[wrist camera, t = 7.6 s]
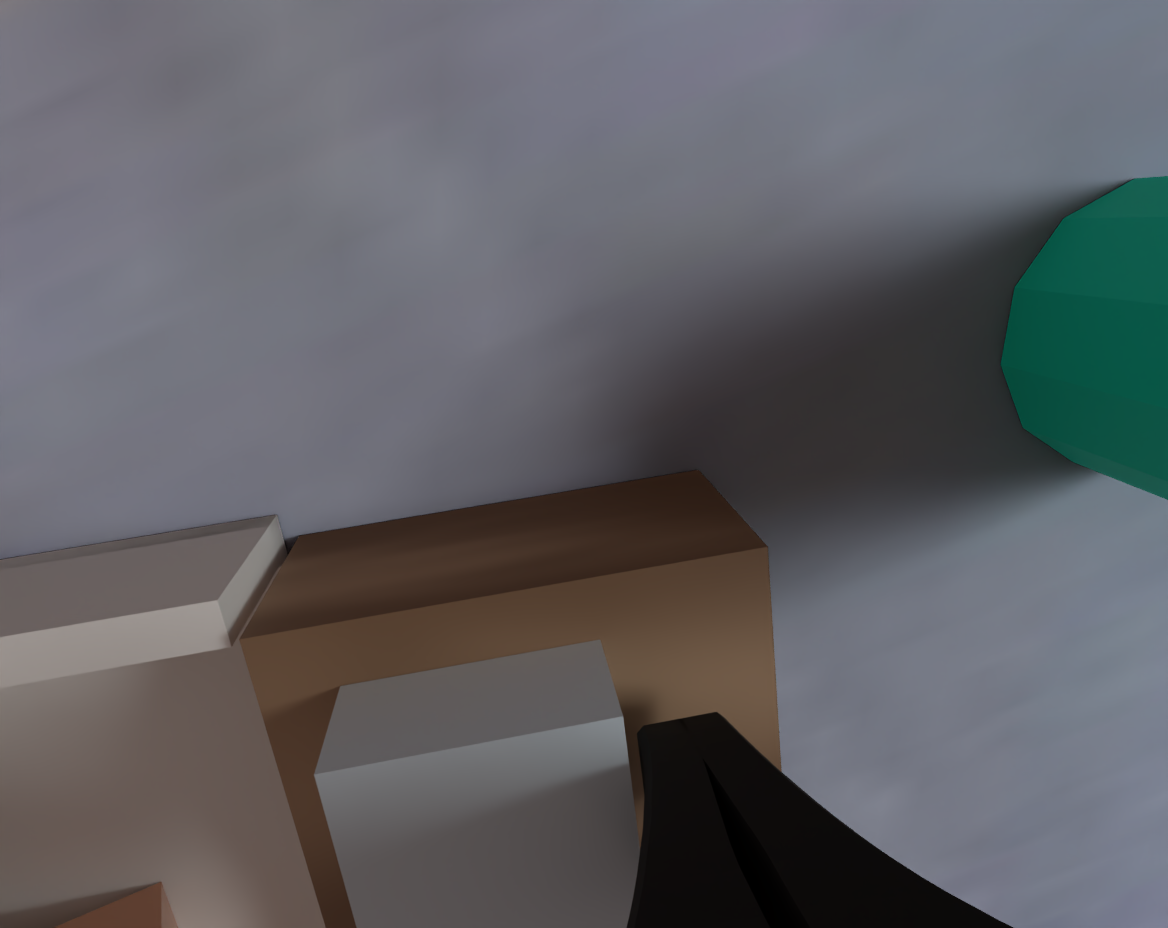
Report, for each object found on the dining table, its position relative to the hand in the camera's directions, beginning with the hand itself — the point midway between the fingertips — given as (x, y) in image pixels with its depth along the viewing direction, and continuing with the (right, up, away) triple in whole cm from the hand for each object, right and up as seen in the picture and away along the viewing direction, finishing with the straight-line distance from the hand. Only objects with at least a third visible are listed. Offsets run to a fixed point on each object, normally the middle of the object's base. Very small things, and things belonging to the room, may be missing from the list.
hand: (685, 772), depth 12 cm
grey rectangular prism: (-3, 0, +1) cm, 3 cm away
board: (-2, -2, +5) cm, 6 cm away
